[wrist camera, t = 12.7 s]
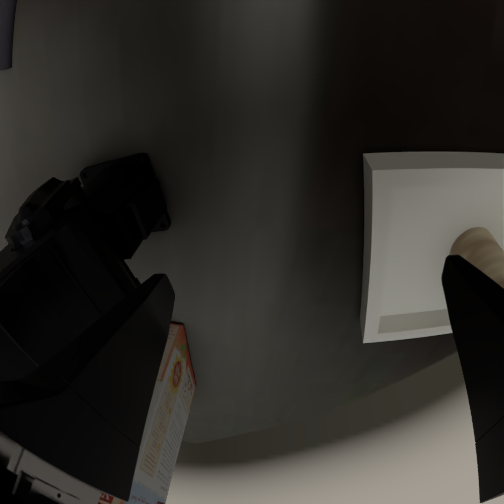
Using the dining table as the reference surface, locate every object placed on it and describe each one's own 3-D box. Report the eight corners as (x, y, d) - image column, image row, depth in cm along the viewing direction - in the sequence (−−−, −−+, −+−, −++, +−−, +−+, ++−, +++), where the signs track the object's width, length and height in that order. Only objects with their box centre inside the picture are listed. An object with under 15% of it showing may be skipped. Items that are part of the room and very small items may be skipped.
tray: (359, 318, 29) (363, 343, 26) (363, 153, 20) (372, 170, 17) (499, 301, 25) (509, 322, 23) (540, 156, 16) (560, 172, 14)
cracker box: (133, 313, 33) (59, 489, 16) (185, 322, 32) (124, 517, 16) (156, 377, 41) (114, 511, 25) (197, 386, 41) (162, 526, 24)
